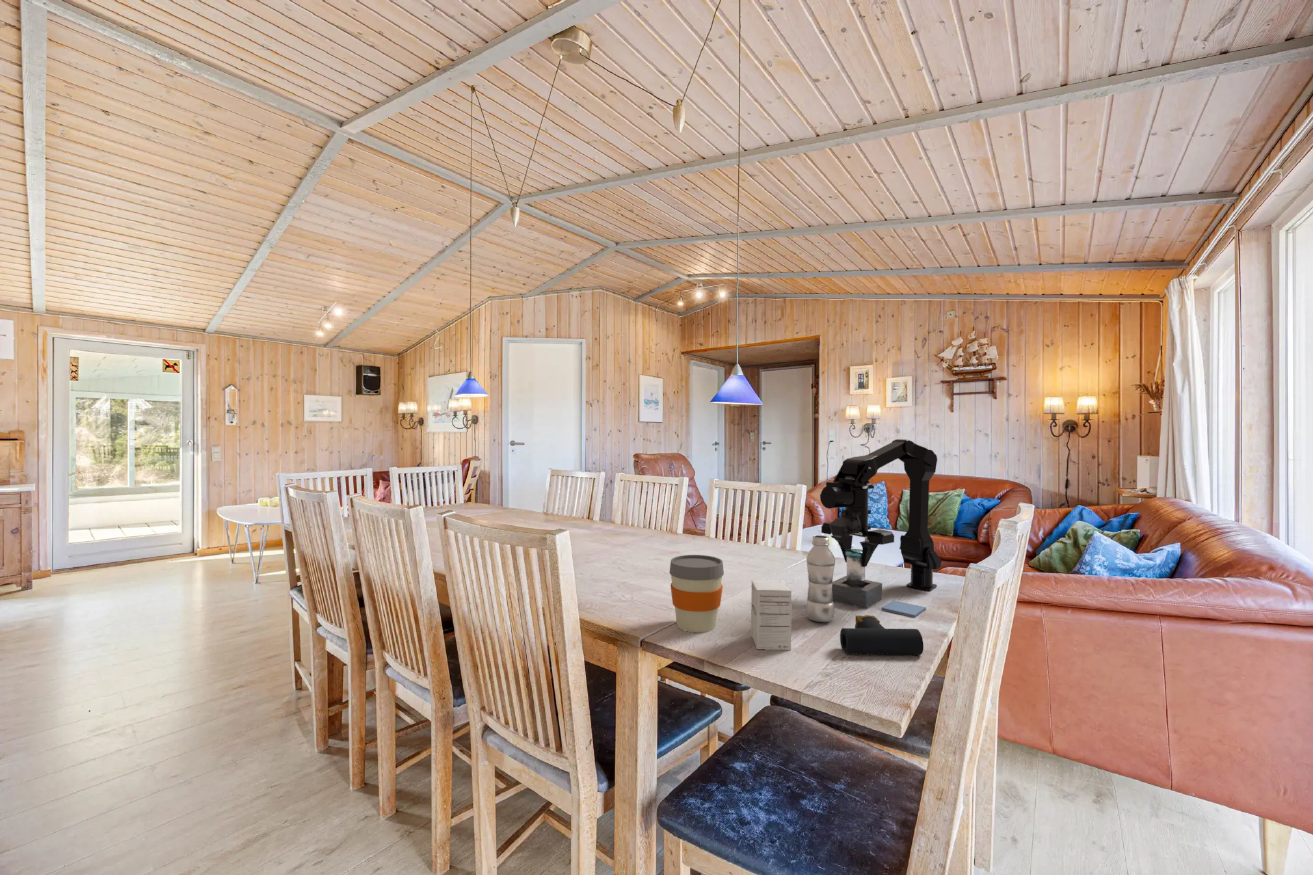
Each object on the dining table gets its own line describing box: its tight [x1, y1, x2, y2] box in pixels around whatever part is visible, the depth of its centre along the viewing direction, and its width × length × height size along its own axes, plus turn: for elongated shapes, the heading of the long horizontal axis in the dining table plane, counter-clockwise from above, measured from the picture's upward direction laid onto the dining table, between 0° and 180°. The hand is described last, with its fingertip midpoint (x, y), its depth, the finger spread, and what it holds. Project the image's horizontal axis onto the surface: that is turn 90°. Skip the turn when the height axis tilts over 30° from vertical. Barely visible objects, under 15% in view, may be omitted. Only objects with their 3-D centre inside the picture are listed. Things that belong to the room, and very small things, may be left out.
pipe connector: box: [839, 614, 924, 656], centre depth 114 cm, size 12×5×15 cm
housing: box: [832, 575, 883, 610], centre depth 144 cm, size 10×10×4 cm
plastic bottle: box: [804, 534, 836, 623], centre depth 128 cm, size 6×7×20 cm
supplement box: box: [750, 579, 792, 651], centre depth 115 cm, size 7×7×13 cm
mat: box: [881, 600, 927, 619], centre depth 136 cm, size 8×8×1 cm
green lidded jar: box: [846, 548, 866, 588], centre depth 144 cm, size 5×5×9 cm
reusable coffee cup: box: [669, 554, 725, 633], centre depth 125 cm, size 12×13×15 cm
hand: (855, 564), depth 144 cm, fingers closed on green lidded jar, 5 cm apart
